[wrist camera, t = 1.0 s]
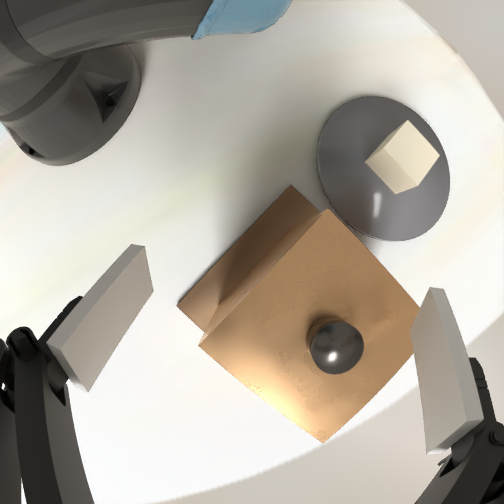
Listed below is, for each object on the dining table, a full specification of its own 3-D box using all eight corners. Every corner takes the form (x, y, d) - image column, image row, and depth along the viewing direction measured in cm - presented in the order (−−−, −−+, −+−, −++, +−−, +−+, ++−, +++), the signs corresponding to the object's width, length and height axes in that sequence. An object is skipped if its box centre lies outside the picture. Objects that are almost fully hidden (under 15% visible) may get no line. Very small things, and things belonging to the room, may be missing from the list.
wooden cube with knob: (217, 305, 25) (192, 356, 12) (292, 226, 25) (338, 203, 13) (294, 373, 25) (329, 459, 13) (365, 298, 25) (450, 332, 13)
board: (177, 305, 25) (176, 306, 25) (290, 185, 26) (291, 184, 25) (293, 404, 26) (293, 406, 25) (397, 295, 26) (399, 295, 25)
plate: (291, 119, 26) (293, 115, 25) (408, 91, 26) (412, 87, 25) (352, 264, 26) (356, 265, 25) (461, 213, 26) (466, 212, 25)
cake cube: (364, 162, 25) (383, 148, 21) (388, 135, 25) (407, 119, 21) (395, 194, 25) (417, 185, 21) (417, 166, 25) (439, 155, 21)
